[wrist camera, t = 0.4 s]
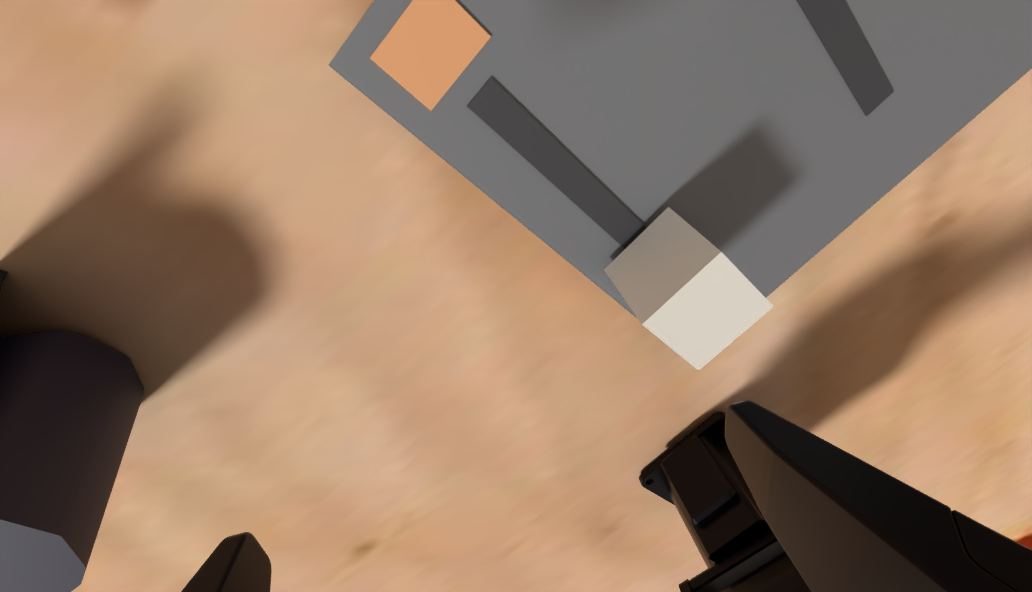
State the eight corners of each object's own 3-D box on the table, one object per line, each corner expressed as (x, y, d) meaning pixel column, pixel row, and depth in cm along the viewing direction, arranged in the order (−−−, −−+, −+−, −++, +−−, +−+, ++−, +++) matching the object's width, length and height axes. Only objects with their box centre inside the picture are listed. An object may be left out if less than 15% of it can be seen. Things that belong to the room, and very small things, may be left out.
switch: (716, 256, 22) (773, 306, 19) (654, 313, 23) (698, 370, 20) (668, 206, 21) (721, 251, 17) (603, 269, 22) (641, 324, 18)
